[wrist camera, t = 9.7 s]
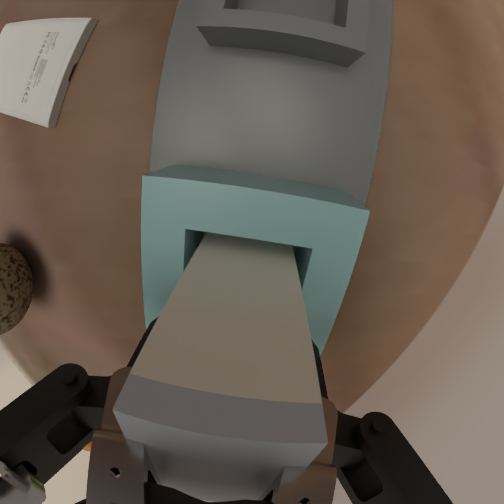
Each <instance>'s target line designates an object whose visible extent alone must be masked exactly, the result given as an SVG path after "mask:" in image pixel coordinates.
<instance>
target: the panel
mask: <svg viewBox="0 0 504 504" xmlns="http://www.w3.org/2000/svg"><path fill="white" fill-rule="evenodd" d="M392 6H393V3H392V0H179V1H178V4H177V8H176V12H175V15H174V19H173V23H172V27H171V31H170V35H169V39H168V44H167V48H166V53H165V58H164V63H163V68H162V73H161V79H160V85H159V91H158V97H157V104H156V111H155V119H154V127H153V136H152V146H151V157H150V170H149V173H148V174H145V175H143V177H142V199H141V263H142V285H143V301H144V313H145V324H146V330H147V328H148V326H149V324H150V322H152V321H153V320H154V319H156V318H157V317H158V316H159V315H160V313H161V312H162V310H163V308H164V306H165V304H166V302H167V301H168V299H169V297H170V295H171V293H172V292H173V290H174V288H175V286H176V284H177V283H178V281H179V279H180V277H181V275H182V274H183V272H184V270H185V268H186V267H187V265H188V263H189V262H190V260H191V258H192V256H193V255H194V253H195V251H196V249H197V248H198V246H199V244H200V243H201V241H202V239H203V238H204V236H205V234H206V233H207V232H211V233H217V234H224V235H230V236H237V237H243V238H250V239H256V240H262V241H269V242H275V243H281V244H288V245H292V247H293V251H294V256H295V261H296V265H297V270H298V274H299V279H300V284H301V289H302V294H303V299H304V304H305V309H306V314H307V319H308V324H309V329H310V335H311V340H313V342H314V343H315V345H316V346H317V347H318V349H319V354H320V356H321V354H322V352H323V349H324V347H325V345H326V342H327V340H328V337H329V335H330V332H331V330H332V327H333V325H334V322H335V319H336V317H337V314H338V311H339V309H340V306H341V303H342V300H343V298H344V295H345V292H346V289H347V286H348V283H349V280H350V277H351V274H352V271H353V268H354V265H355V262H356V259H357V256H358V252H359V249H360V246H361V242H362V239H363V235H364V232H365V228H366V225H367V221H368V217H369V214H370V210H368V209H367V208H366V207H365V205H366V201H367V197H368V193H369V188H370V184H371V180H372V175H373V171H374V166H375V161H376V156H377V151H378V146H379V140H380V134H381V129H382V122H383V116H384V109H385V102H386V95H387V86H388V77H389V67H390V55H391V40H392Z"/></svg>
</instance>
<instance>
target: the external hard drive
mask: <svg viewBox="0 0 504 504" xmlns="http://www.w3.org/2000/svg"><path fill="white" fill-rule="evenodd" d="M97 22H98V21H97V20H95V19H93V18H49V19H37V20H28V21H21V22H15V23H9V24H6V25H5V26H4V28H3V30H2V32H1V34H0V113H4V114H7V115H10V116H13V117H17V118H20V119H23V120H26V121H29V122H32V123H35V124H38V125H41V126H44V127H47V128H54V127H55V126H56V123H57V119H58V116H59V112H60V109H61V106H62V103H63V100H64V97H65V94H66V91H67V88H68V85H69V78H70V75H71V73H72V70H73V67H74V65H75V64H77V62H78V60H79V58H80V56H81V54H82V51H83V49H84V47H85V45H86V43H87V41H88V39H89V37H90V35H91V33H92V31H93V29H94V27H95V25H96V23H97Z"/></svg>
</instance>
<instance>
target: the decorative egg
mask: <svg viewBox="0 0 504 504" xmlns="http://www.w3.org/2000/svg"><path fill="white" fill-rule="evenodd" d="M32 294H33V278H32V273H31V269H30V267H29V264H28V262H27V261H26V259H25V258H24V256H23V255H22V254H21V253H20V252H19V251H18V250H17V249H15V248H14V247H12V246H10V245H7V244H3V243H0V335H1V334H3V333H6V332H7V331H9V330H11V329H12V328H13V327H15V326H16V325H17V324H18V323H19V322H20V321H21V320H22V318H23V317H24V315H25V314H26V312H27V310H28V308H29V306H30V303H31V299H32Z"/></svg>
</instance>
